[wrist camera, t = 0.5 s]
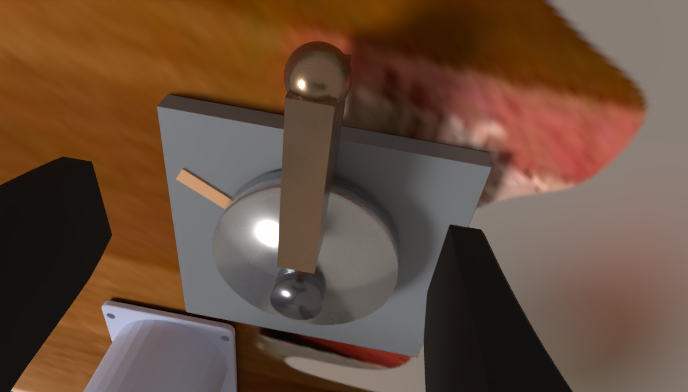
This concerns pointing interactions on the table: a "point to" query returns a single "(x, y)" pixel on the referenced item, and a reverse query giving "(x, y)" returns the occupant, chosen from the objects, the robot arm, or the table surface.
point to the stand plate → (352, 165)
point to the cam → (309, 213)
